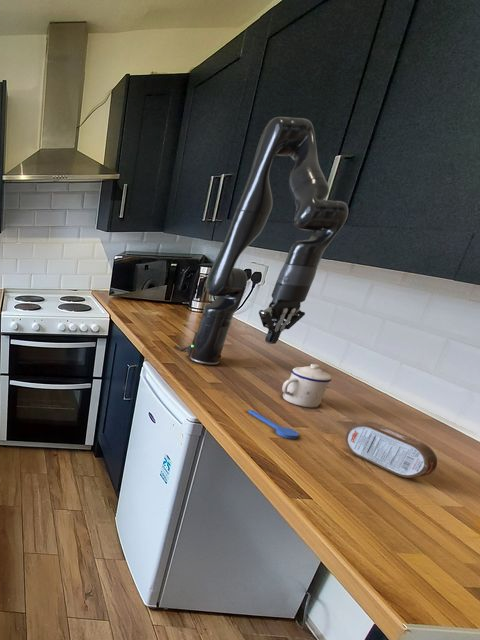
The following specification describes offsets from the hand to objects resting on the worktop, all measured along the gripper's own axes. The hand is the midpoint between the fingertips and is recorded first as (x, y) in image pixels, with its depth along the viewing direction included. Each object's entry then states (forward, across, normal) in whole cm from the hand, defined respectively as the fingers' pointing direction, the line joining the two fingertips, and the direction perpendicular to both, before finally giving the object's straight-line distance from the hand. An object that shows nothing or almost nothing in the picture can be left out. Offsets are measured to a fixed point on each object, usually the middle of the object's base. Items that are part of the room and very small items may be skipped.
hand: (270, 342), depth 114 cm
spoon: (+16, +10, +18) cm, 26 cm away
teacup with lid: (+17, -10, +6) cm, 20 cm away
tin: (+16, 0, +36) cm, 40 cm away
